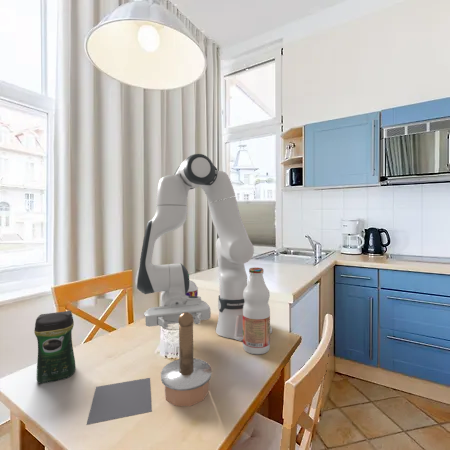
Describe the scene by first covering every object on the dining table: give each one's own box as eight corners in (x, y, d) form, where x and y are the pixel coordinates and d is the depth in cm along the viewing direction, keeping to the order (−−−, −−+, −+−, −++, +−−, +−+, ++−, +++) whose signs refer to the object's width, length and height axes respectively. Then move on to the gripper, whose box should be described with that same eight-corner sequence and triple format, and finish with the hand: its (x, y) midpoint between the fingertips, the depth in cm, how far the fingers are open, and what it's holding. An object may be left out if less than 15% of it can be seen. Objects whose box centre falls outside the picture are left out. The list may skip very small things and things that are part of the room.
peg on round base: (205, 358, 81) (205, 302, 80) (216, 384, 68) (216, 318, 68) (159, 365, 77) (158, 306, 76) (162, 395, 65) (161, 325, 64)
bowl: (202, 377, 80) (202, 360, 80) (212, 403, 69) (212, 384, 69) (163, 384, 77) (163, 366, 77) (167, 412, 66) (166, 392, 66)
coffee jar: (77, 365, 86) (75, 306, 86) (73, 379, 79) (71, 315, 78) (40, 372, 83) (38, 310, 82) (33, 387, 76) (30, 320, 75)
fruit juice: (252, 358, 91) (253, 272, 89) (237, 345, 99) (237, 267, 98) (275, 350, 95) (275, 269, 94) (259, 339, 103) (259, 265, 102)
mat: (150, 379, 79) (150, 377, 79) (151, 413, 66) (151, 411, 66) (96, 388, 75) (96, 386, 75) (86, 427, 62) (86, 424, 62)
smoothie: (197, 322, 120) (196, 276, 119) (177, 322, 120) (177, 276, 119) (199, 315, 128) (198, 272, 127) (181, 315, 129) (180, 272, 128)
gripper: (143, 301, 91) (144, 316, 78) (204, 295, 97) (215, 309, 84) (144, 320, 91) (144, 339, 78) (204, 313, 97) (215, 329, 84)
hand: (181, 323), depth 81 cm, fingers open, 8 cm apart
